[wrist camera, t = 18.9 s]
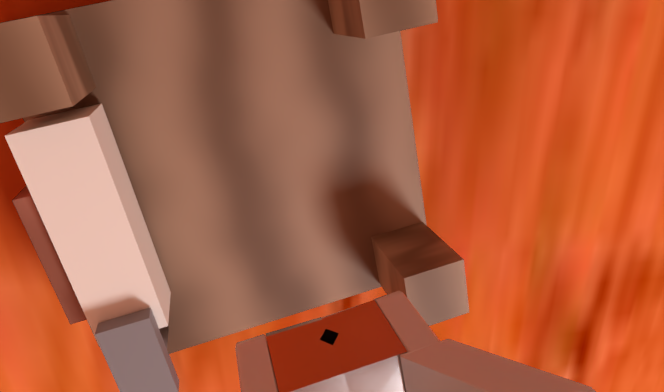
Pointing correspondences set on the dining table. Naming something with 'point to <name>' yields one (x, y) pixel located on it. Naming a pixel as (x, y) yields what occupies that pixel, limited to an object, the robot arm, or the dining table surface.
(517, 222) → the dining table surface
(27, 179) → the hinged leg
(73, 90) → the stool board
